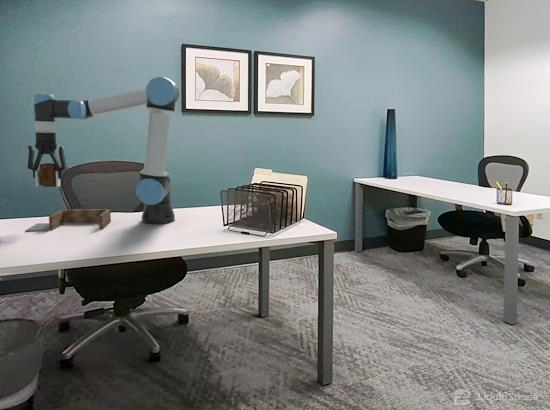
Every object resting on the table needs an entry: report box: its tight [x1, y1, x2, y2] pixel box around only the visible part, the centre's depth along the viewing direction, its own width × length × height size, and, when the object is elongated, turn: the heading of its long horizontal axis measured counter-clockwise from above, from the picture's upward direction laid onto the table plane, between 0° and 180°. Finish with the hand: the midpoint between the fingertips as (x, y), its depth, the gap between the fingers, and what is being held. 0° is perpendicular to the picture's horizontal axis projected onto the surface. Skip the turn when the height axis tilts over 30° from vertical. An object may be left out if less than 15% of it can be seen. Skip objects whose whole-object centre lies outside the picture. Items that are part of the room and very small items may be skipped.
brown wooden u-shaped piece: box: [48, 208, 112, 231], centre depth 192 cm, size 21×15×6 cm
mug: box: [38, 162, 57, 188], centre depth 185 cm, size 12×8×9 cm, turn 3°
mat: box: [25, 222, 51, 233], centre depth 188 cm, size 9×13×1 cm, turn 8°
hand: (48, 186), depth 186 cm, fingers closed on mug, 7 cm apart
